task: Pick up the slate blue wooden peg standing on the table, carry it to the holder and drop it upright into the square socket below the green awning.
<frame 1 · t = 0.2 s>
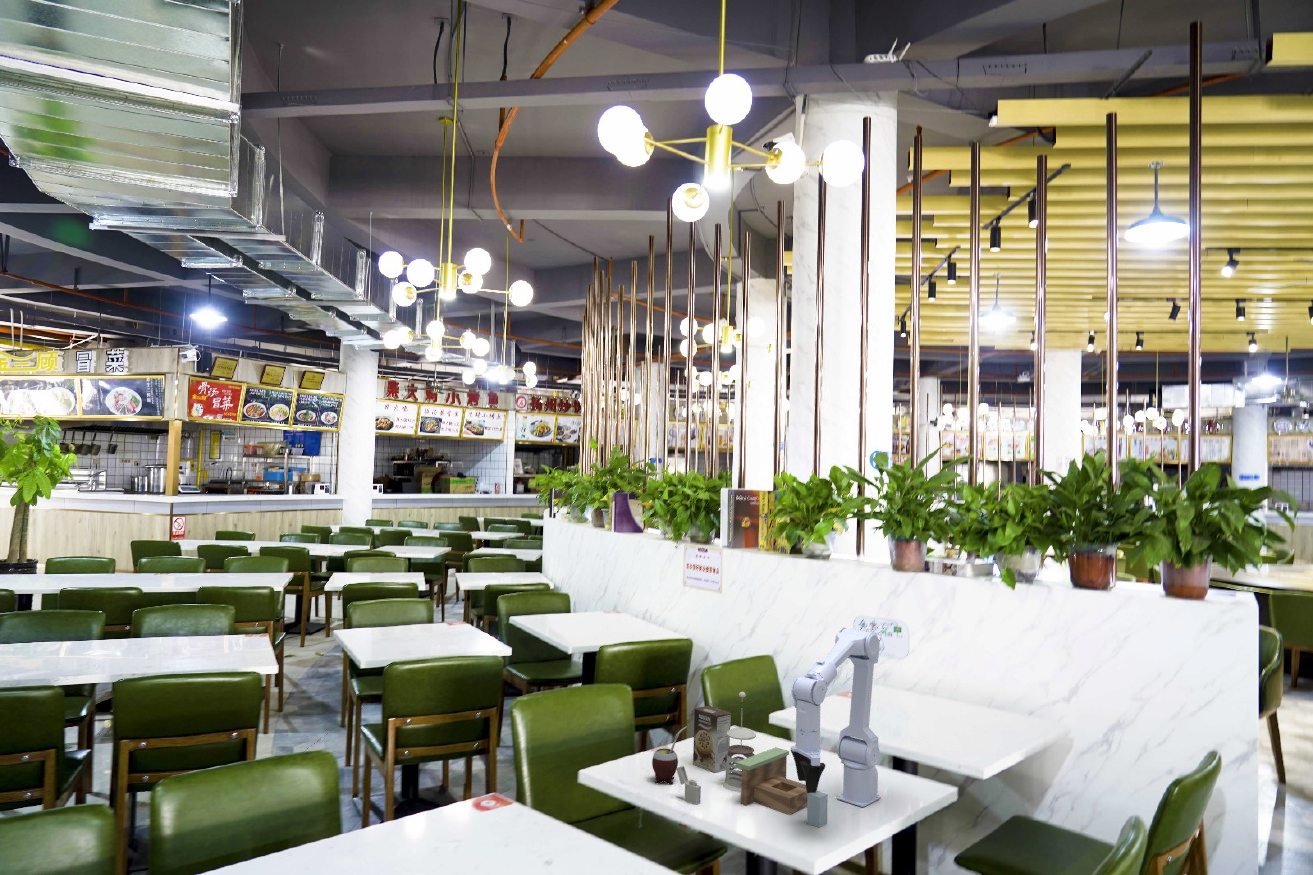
hand: (807, 786, 199), 10 cm above the table, tool pointing down, fingers open, 7 cm apart
lighter: (687, 801, 213), on the table
french press: (736, 785, 225), on the table
mate gourd: (666, 781, 226), on the table
socket holder: (784, 802, 213), on the table
peg: (817, 823, 201), on the table
coffee box: (710, 767, 239), on the table
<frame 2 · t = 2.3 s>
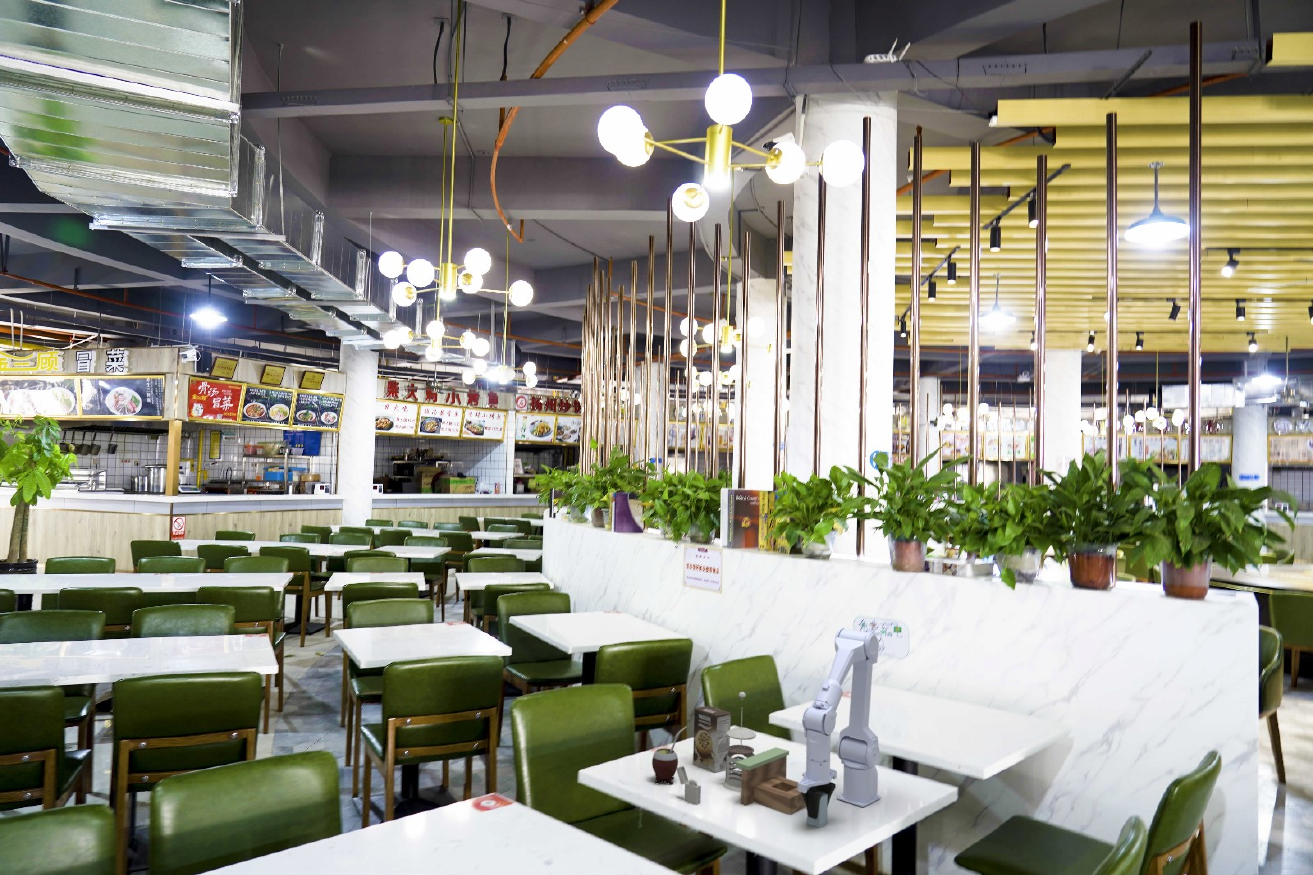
hand: (817, 815, 201), 2 cm above the table, tool pointing down, fingers closed on peg, 3 cm apart
peg: (817, 823, 201), on the table, touching gripper
everything else where it was.
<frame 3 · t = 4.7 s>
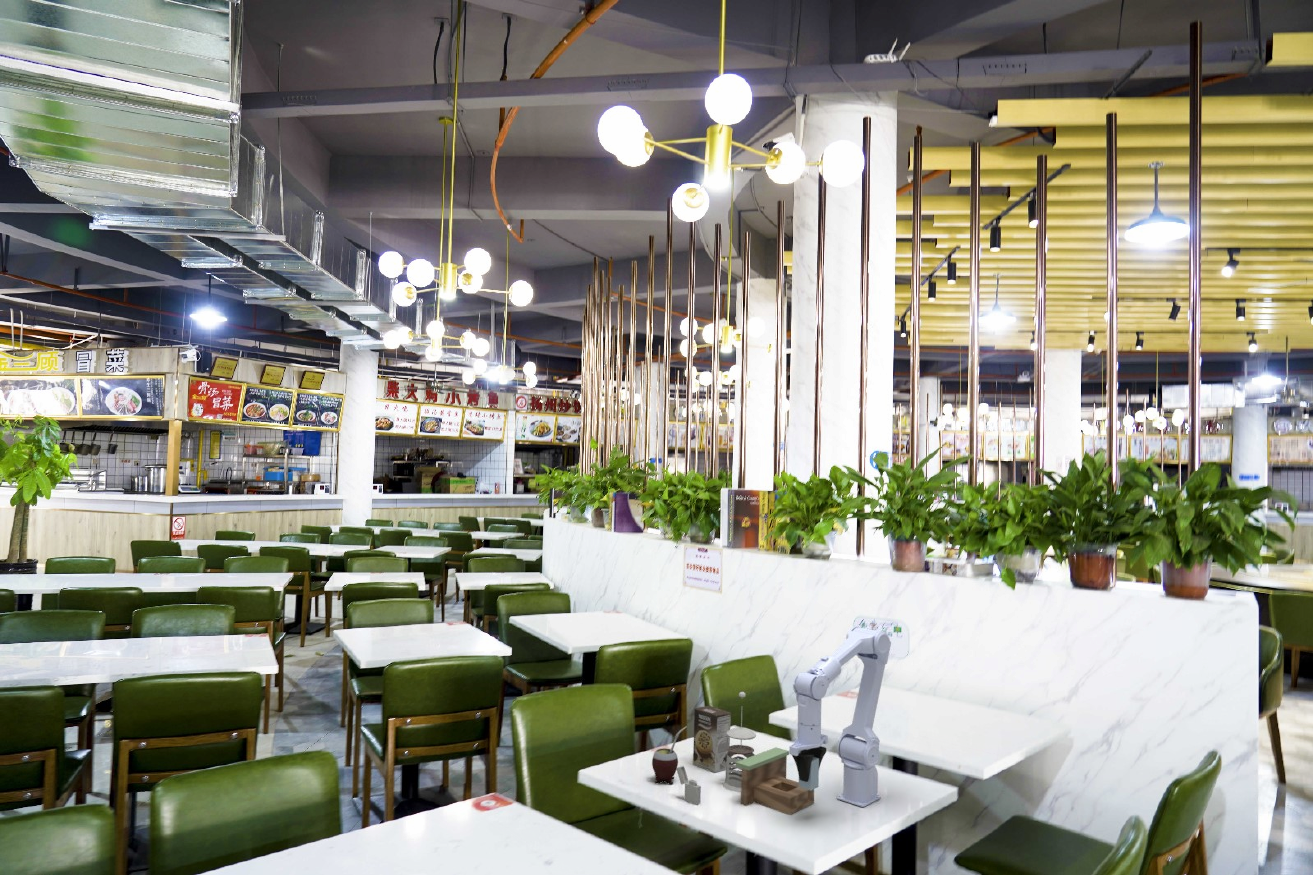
hand: (808, 778, 205), 9 cm above the table, tool pointing down, fingers closed on peg, 3 cm apart
peg: (808, 787, 205), point 7 cm above the table, touching gripper
everything else where it was.
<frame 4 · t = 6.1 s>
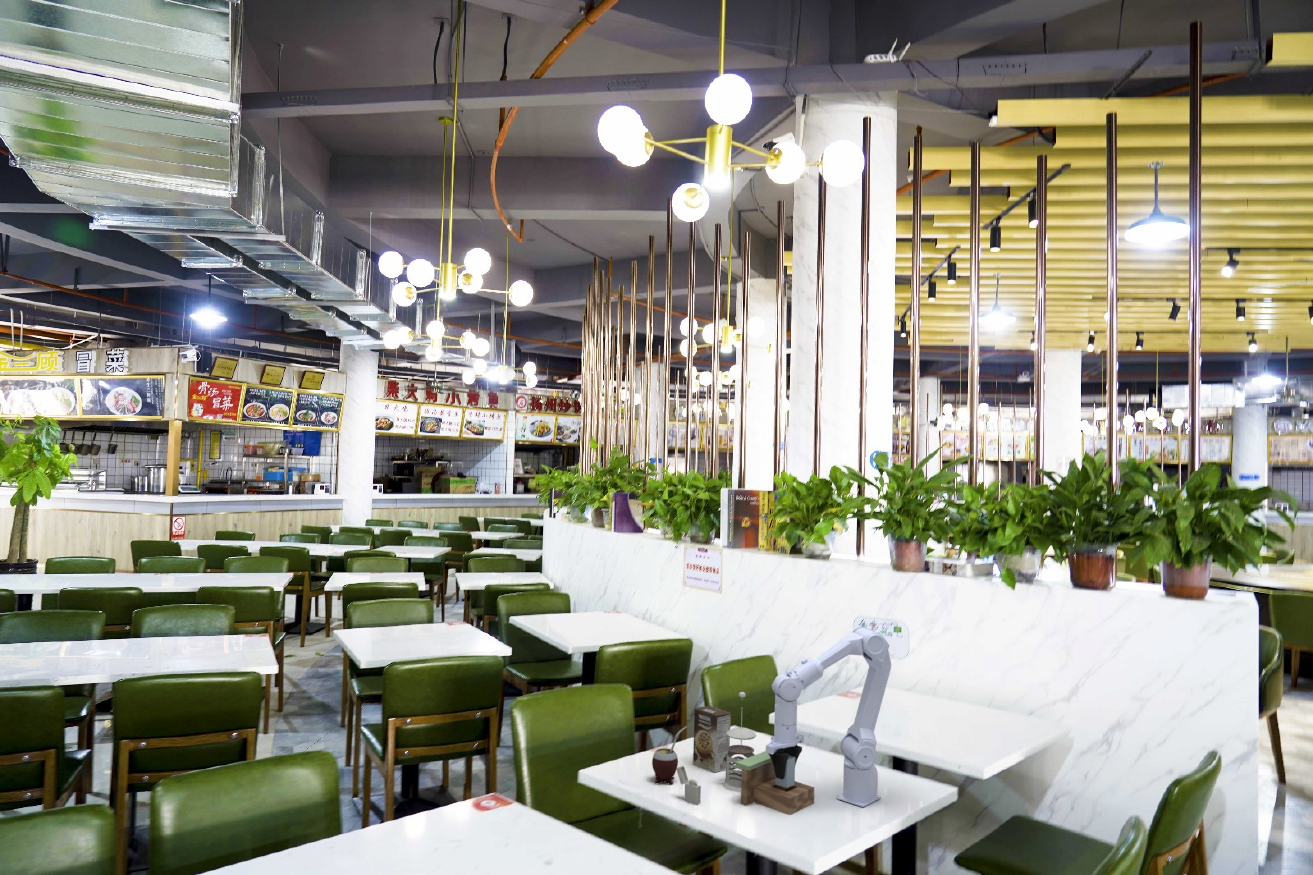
hand: (784, 776, 214), 7 cm above the table, tool pointing down, fingers closed on peg, 3 cm apart
peg: (785, 784, 213), point 5 cm above the table, touching gripper
everything else where it was.
when the fingers open (5 cm above the table, at t = 7.2 s): peg drops 2 cm, resting on socket holder.
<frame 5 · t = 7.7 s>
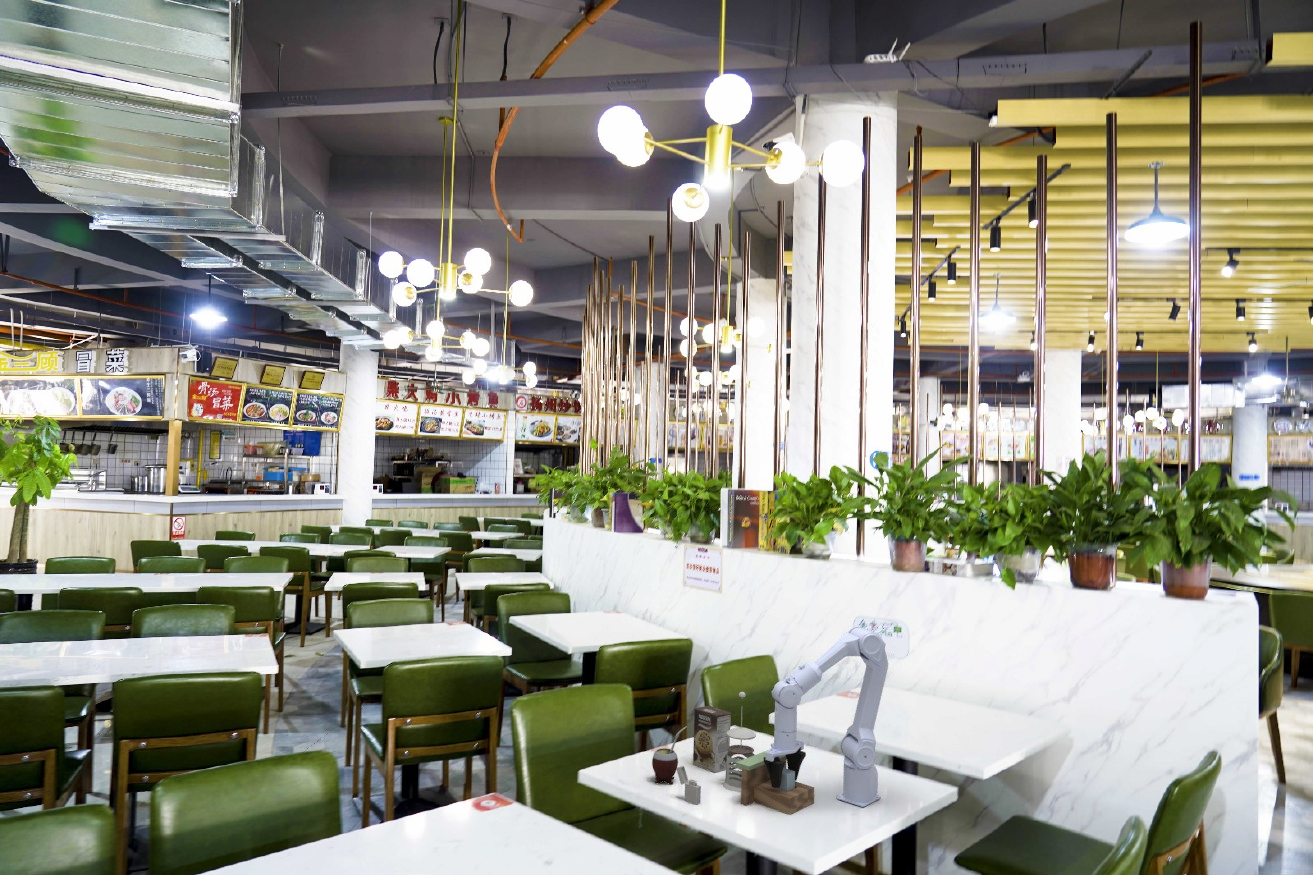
hand: (784, 783, 214), 5 cm above the table, tool pointing down, fingers open, 7 cm apart
peg: (784, 798, 213), point 1 cm above the table, touching socket holder
everything else where it was.
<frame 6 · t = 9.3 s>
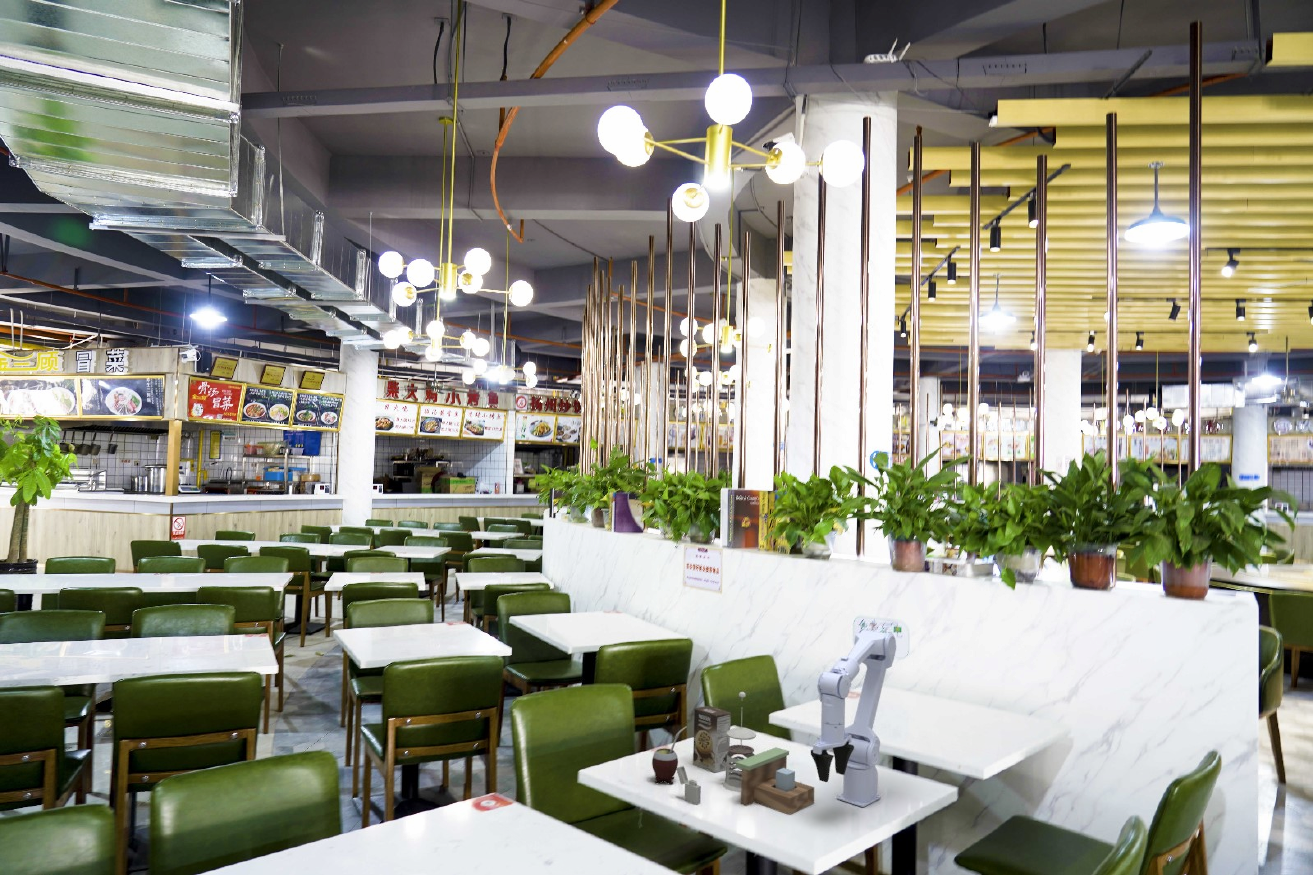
hand: (832, 777, 206), 9 cm above the table, tool pointing down, fingers open, 7 cm apart
nothing on the table moved.
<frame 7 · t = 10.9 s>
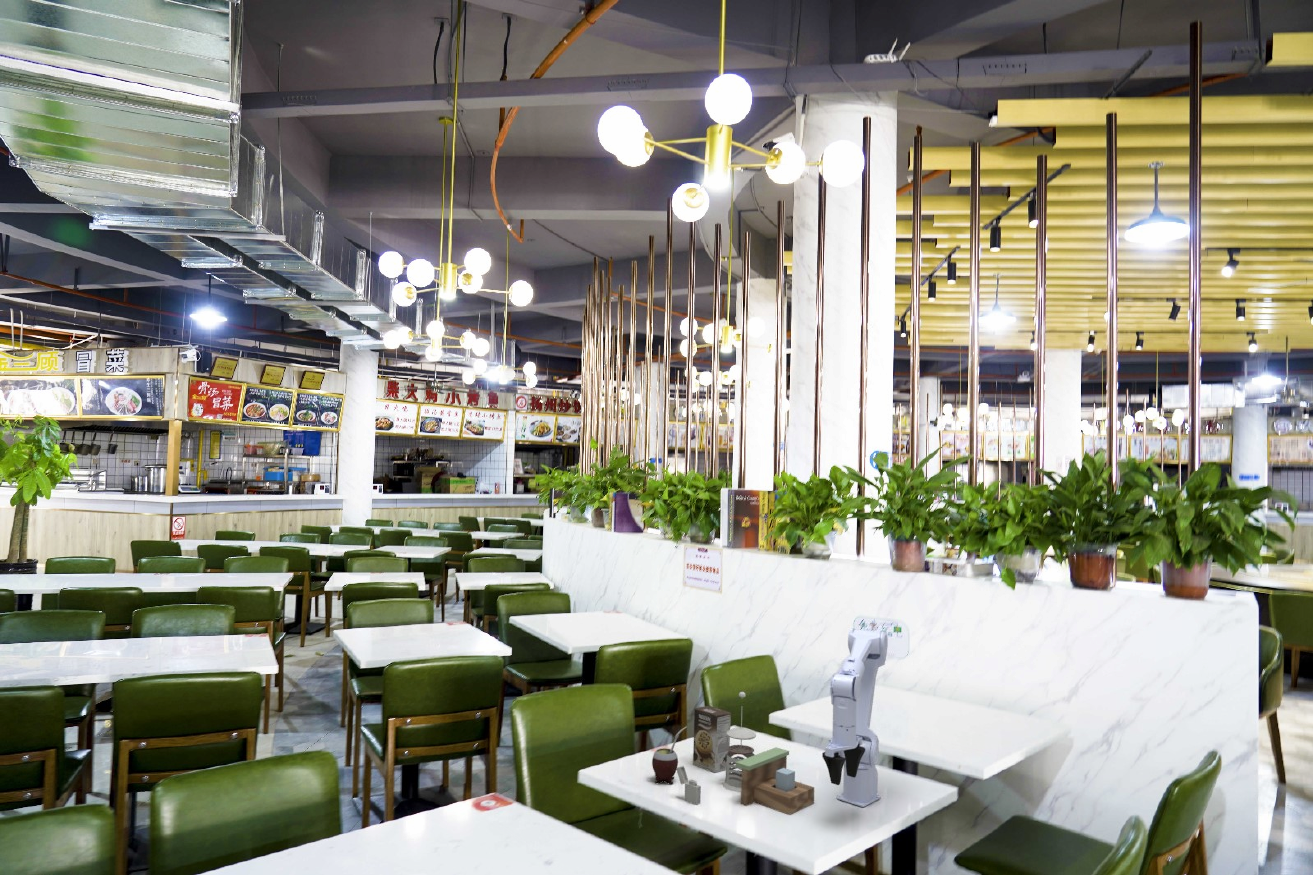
hand: (843, 780, 204), 9 cm above the table, tool pointing down, fingers open, 7 cm apart
nothing on the table moved.
at the end: peg 0.2 cm off-centre on the socket holder, point 1.0 cm above the socket holder's base; peg tilted 0°; the gripper is holding nothing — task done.
